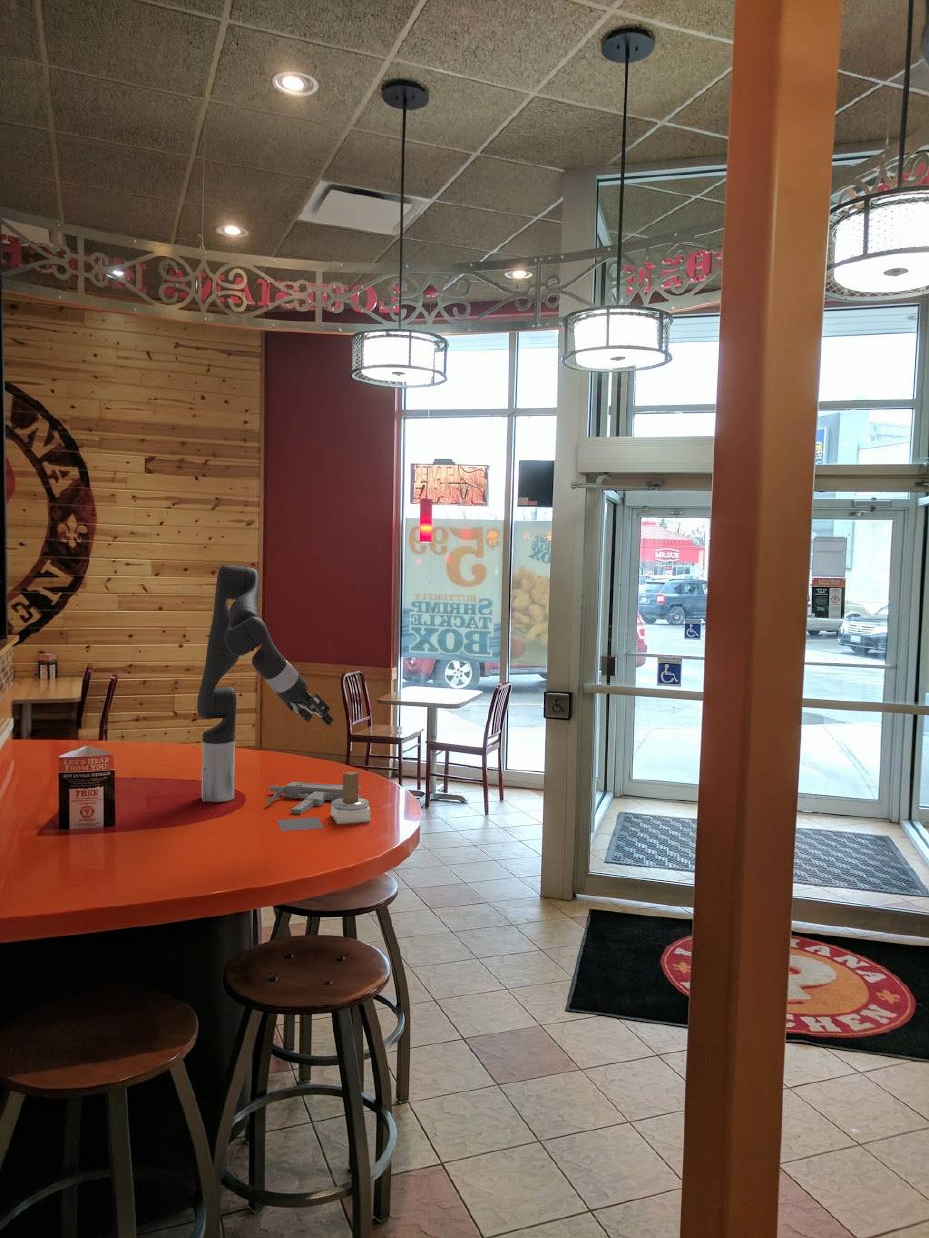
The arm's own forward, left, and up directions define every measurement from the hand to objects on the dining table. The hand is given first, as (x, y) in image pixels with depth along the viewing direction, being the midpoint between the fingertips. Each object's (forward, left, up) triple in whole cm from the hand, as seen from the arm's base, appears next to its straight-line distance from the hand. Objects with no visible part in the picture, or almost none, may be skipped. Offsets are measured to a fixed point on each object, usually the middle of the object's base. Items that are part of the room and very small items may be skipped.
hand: (319, 720), depth 236 cm
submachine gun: (0, +27, -29) cm, 40 cm away
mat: (-4, +4, -29) cm, 29 cm away
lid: (+10, +6, -25) cm, 27 cm away
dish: (+10, +6, -29) cm, 31 cm away
